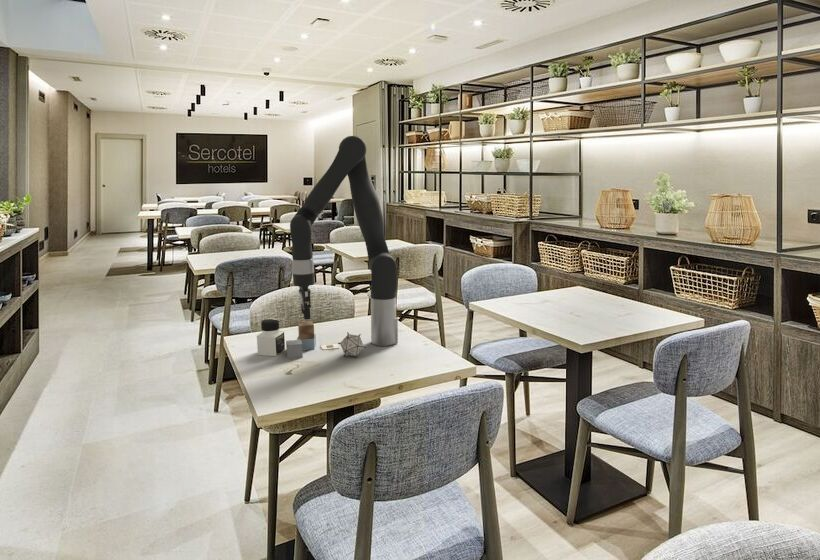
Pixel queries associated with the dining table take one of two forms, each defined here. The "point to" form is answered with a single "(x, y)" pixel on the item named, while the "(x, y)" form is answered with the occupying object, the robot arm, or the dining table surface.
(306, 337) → the walnut block
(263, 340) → the medicine bottle
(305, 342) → the base block
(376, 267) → the robot arm
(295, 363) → the dining table surface
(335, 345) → the card
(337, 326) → the dining table surface
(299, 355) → the gray block
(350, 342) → the grey icosahedron
